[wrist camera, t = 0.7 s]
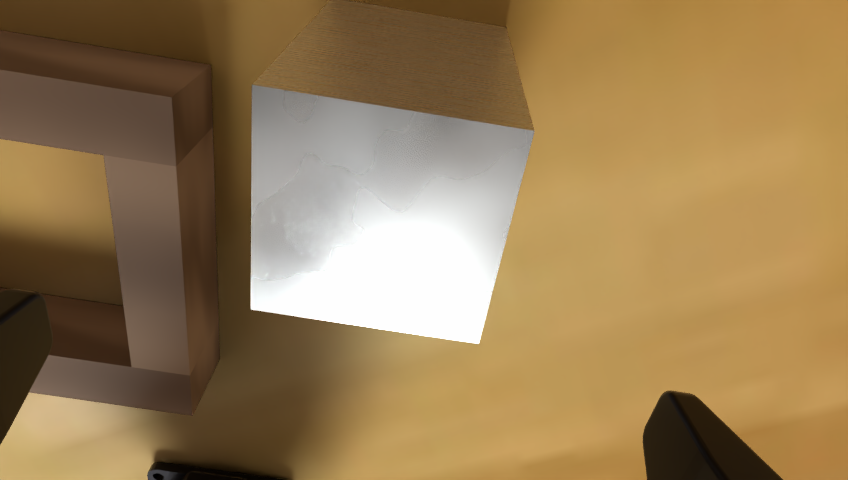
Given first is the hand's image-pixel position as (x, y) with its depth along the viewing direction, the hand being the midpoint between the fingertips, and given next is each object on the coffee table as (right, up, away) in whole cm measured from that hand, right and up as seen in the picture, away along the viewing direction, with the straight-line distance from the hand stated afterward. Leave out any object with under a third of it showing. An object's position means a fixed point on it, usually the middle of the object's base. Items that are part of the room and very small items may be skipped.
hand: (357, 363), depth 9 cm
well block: (-12, +3, +13) cm, 18 cm away
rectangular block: (0, +6, +10) cm, 12 cm away
